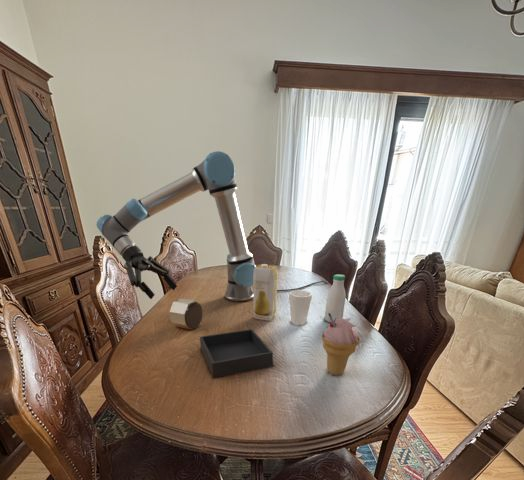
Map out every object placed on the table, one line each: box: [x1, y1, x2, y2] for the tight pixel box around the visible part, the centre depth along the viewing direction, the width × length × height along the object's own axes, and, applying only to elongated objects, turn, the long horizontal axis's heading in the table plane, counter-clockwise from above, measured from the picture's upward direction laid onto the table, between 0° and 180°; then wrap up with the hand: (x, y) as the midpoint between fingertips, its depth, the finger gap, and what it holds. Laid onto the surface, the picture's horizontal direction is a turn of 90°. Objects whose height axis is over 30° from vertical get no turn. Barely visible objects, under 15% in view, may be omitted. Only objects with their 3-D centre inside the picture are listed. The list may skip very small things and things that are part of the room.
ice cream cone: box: [321, 313, 361, 377], centre depth 86 cm, size 11×11×20 cm
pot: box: [168, 297, 203, 330], centre depth 118 cm, size 8×11×11 cm
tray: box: [199, 328, 274, 378], centre depth 97 cm, size 20×20×5 cm
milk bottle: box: [324, 273, 347, 323], centre depth 124 cm, size 8×8×20 cm
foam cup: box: [288, 289, 313, 326], centre depth 123 cm, size 10×9×13 cm
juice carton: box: [252, 263, 278, 322], centre depth 124 cm, size 9×8×24 cm
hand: (164, 292), depth 117 cm, fingers open, 13 cm apart
